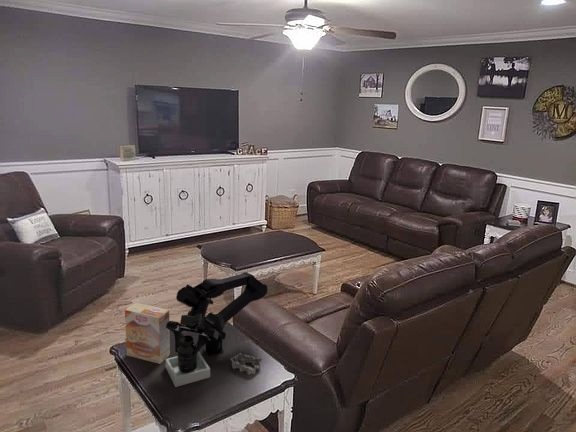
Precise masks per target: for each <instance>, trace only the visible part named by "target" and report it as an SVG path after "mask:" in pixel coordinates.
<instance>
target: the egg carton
mask: <svg viewBox="0 0 576 432" xmlns="http://www.w3.org/2000/svg"><path fill="white" fill-rule="evenodd" d="M230 361H231V367H232V369H238V370H239V372H246V373H247V374H246V375H255V374H256V370H257V371H259V370H260V369H261V362H262V361H263V358H261V357H259V356H255V357H254V356H251V355H249V354H243V353H241V352H239V353H237V354H236V355H234V356H232V357H231V358H230ZM246 363H247V364H249V363H250V364H251V365H252V366H253V367H252V366H247V365H246Z"/></svg>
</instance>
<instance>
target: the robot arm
mask: <svg viewBox="0 0 576 432" xmlns="http://www.w3.org/2000/svg"><path fill="white" fill-rule="evenodd" d="M242 286H243V287H244V286H245V287H244V289H243V292H242V293H241V294H239V295H238V296H237V297H236V298H235V299H234V300H232V301H231V302H230V303H229V304H227V305H226V306H225V307H223V308H222V309H221V310H220V311H219V312H218V313H213V312H212V311H211V312H209V313H208V314H207V311H208V308H209V305H214V301H213V299H216V298H218V297H220V296H222V295H223V294H224V292H226V291H229V290H232V289H236V288H239V287H242ZM268 290H269V289H268V286H267V284H266V283H263V282H262V281H260V280H259V279H257V278H256V276H254V274H252V273H249V272H248V271H246V272H242V273H239V274H236V275H232V276H229V277H224V278H206V279H204V280H202V282H200V283H198V284H197V285H195V286H192V285H190V284H188V283H187V284H186V286H183V287H182V288H180V289H179V290H178V291H177V293H176V301H177V302H179V303H181V304H182V305H185V306H187V307H189V308H190V310H189V311H188V313H187V314H182V315H181V316H180V322H179V321H173V320H169V322H168V323H167V325H166V328H167V329H168V330H170V332H171V333H173V335H174V352H175V353H177V347H178V346H179V343H180V338H181V337H183V336H185V335H184V334H183V332H186V333H191V334H192V333H193V334H198V336H197V337H198V338H197V343H196V344H195V345H196V347H195V350H194V354H193V356H195V355H196V354H197V353H198V352H200V351H201V349H203V351H204V353H206V354H207V356H209V357H210V356H214V355H218V354H221V353H224V350H225V349H223V340H225V338H226V335H227V332H224V327H225V325H226V324H227V322H229V321H230V320H231V319H232V318H234V317H235V316H236V315H237V314H238V313H239V312H241V311H242V310H243V309H244V308H245V307H247V306H248V305H249V304H251V302H255V301H256V302H257V301H259V300H260V299H263V298H264V297H265V296H266V295H267V294H268ZM206 314H207V315H206Z"/></svg>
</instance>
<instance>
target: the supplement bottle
mask: <svg viewBox="0 0 576 432" xmlns="http://www.w3.org/2000/svg"><path fill="white" fill-rule="evenodd" d="M194 342H195V341H194V337H193V336H192V335H184V336H183V337H181V338H180V343H179V346H178V347H177V352H176V355H177V358H178V369H179V371H180V372H182V373H190V372H193V371H194V370H195V369H196V368H197V354H196V355H195V356H193V354H194V350H195V347H196V345H197V344H195V343H194Z"/></svg>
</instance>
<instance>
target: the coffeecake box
mask: <svg viewBox="0 0 576 432" xmlns="http://www.w3.org/2000/svg"><path fill="white" fill-rule="evenodd" d="M124 315H125V316H124V320H125V338H126V339H125V343H126V356H127V357H131V358H135V359H139V360H143V361H147V362H150V363H155V364H159V365H161V364H162V363H163V362H164V361H166V359H168V358H169V356H170V354H171V342H170V341H171V340H170V339H171V338H170V337H171V336H170V333H171V331H170V330H168V329H167V328H166V325H167V323H168V322H169V321H170V309H166V308H162V307H159V306H158V307H157V306H155V305H154V306H153V305H149V304H145V303H140V302H134V304H133V303H132V305H130V306H128V307H126V309H124Z"/></svg>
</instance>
